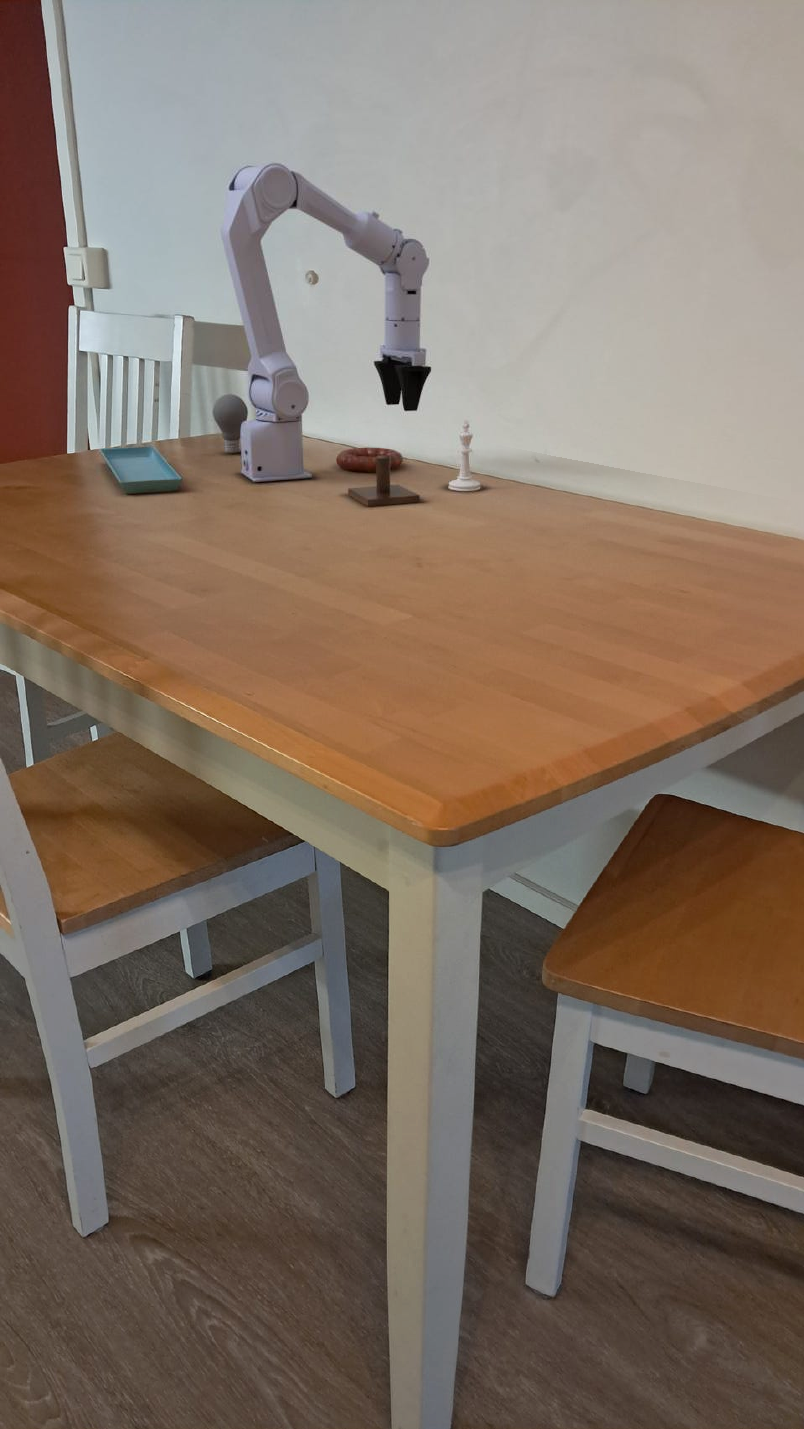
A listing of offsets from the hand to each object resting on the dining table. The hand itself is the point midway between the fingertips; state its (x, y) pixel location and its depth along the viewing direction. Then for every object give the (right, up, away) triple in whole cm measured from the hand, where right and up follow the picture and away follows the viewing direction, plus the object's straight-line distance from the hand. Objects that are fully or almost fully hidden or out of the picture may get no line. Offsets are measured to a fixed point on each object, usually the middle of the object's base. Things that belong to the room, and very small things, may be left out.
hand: (401, 407), depth 176 cm
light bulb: (-30, -5, +11) cm, 32 cm away
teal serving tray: (-41, -14, -8) cm, 44 cm away
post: (-3, -19, -21) cm, 29 cm away
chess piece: (+10, -16, -14) cm, 24 cm away
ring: (-5, -9, 0) cm, 10 cm away
